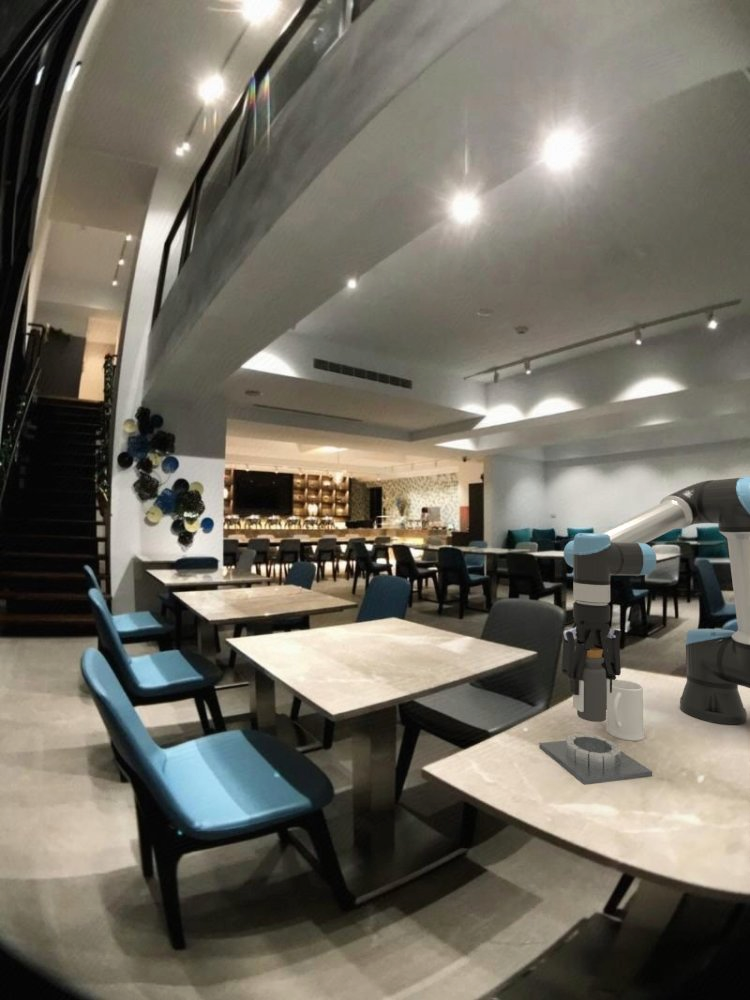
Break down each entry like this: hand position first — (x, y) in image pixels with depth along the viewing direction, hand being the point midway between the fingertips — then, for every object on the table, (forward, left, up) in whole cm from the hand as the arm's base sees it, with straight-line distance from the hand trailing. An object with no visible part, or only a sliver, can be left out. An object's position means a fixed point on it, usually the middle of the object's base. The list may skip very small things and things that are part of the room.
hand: (591, 708), depth 105 cm
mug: (-16, -10, -12) cm, 22 cm away
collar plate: (0, 0, -11) cm, 11 cm away
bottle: (0, 0, -2) cm, 2 cm away
